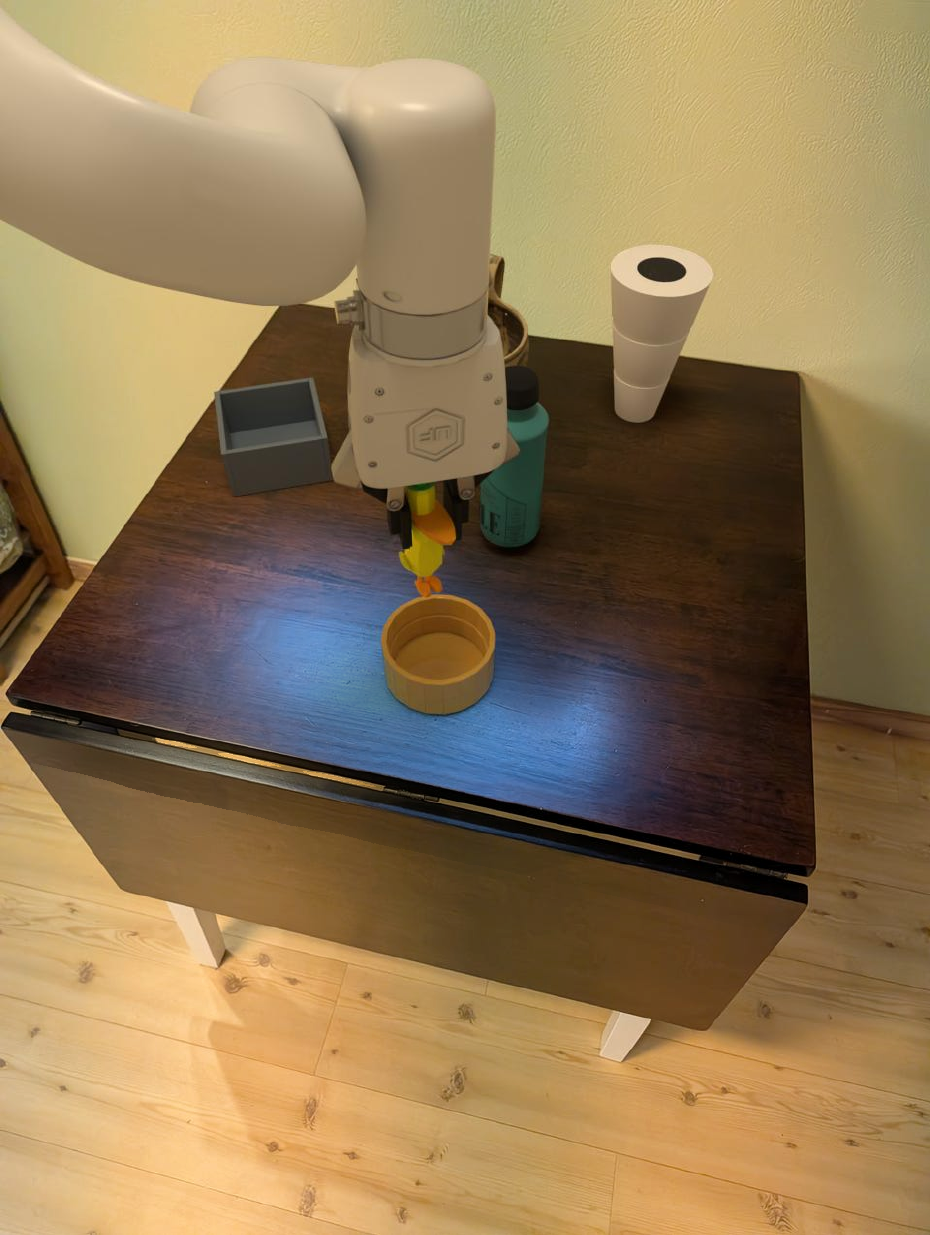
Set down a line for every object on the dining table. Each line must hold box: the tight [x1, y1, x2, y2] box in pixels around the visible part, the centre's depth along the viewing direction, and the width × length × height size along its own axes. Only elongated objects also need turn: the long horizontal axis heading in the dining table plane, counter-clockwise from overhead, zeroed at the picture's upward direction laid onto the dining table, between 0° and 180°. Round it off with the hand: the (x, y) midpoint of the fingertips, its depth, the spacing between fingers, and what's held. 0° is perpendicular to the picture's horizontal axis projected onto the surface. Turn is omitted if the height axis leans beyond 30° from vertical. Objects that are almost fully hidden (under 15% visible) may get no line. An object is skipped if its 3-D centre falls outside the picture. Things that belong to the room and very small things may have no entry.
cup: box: [610, 244, 714, 423], centre depth 96 cm, size 11×11×18 cm
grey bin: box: [213, 377, 334, 498], centre depth 95 cm, size 11×11×6 cm
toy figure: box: [398, 482, 456, 598], centre depth 64 cm, size 7×4×12 cm, turn 33°
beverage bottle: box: [478, 366, 550, 548], centre depth 81 cm, size 6×7×20 cm
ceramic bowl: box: [487, 253, 530, 368], centre depth 97 cm, size 22×17×15 cm
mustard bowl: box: [380, 593, 496, 715], centre depth 76 cm, size 10×10×5 cm
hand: (428, 530), depth 64 cm, fingers closed on toy figure, 3 cm apart
